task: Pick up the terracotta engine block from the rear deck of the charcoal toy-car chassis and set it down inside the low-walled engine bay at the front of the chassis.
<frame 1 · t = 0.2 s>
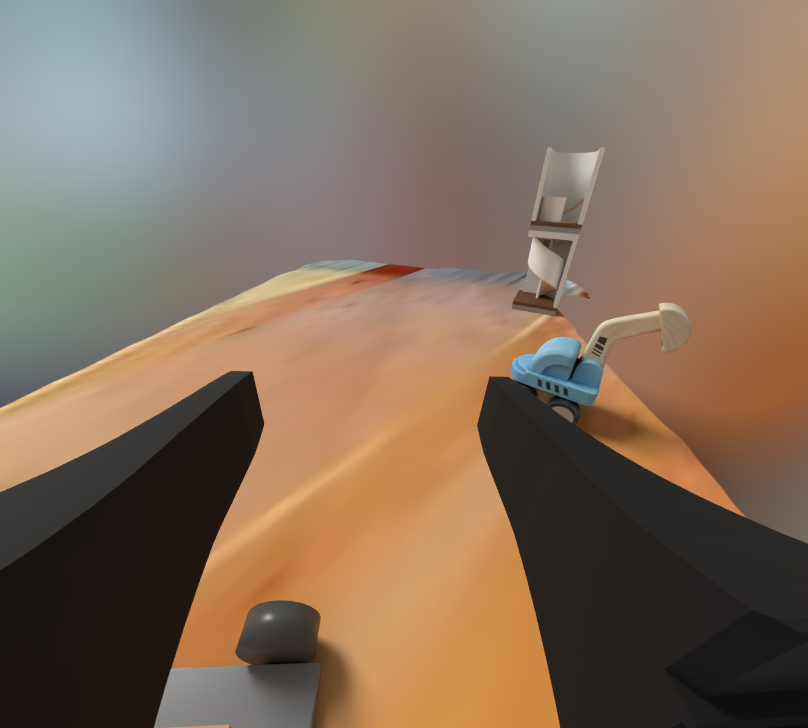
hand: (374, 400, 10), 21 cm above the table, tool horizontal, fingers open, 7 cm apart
toy excavator: (562, 414, 44), on the table
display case: (534, 306, 84), on the table
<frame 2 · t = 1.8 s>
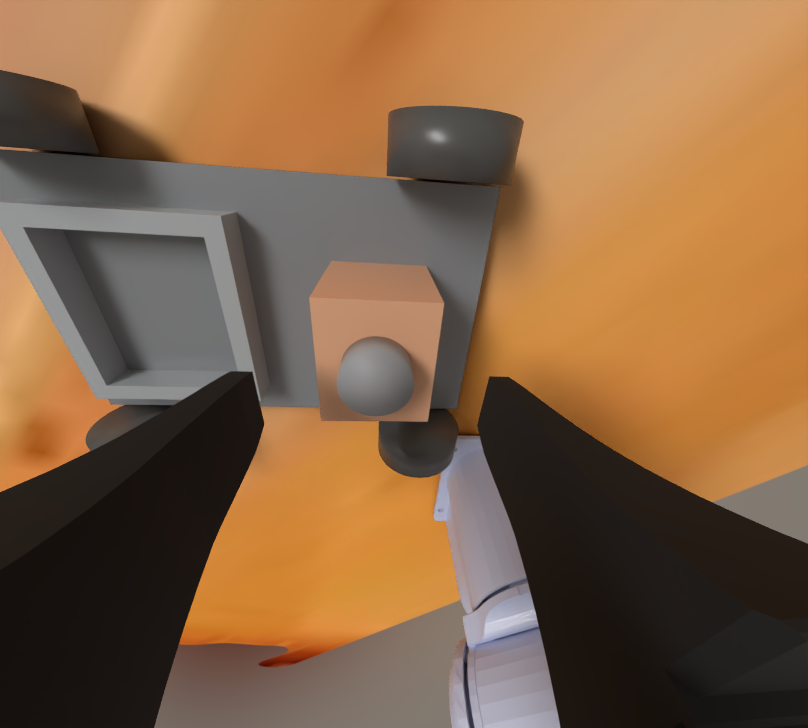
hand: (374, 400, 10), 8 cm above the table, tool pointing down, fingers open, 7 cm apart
engine block: (378, 315, 16), point 1 cm above the table, touching chassis
chassis: (282, 304, 16), on the table
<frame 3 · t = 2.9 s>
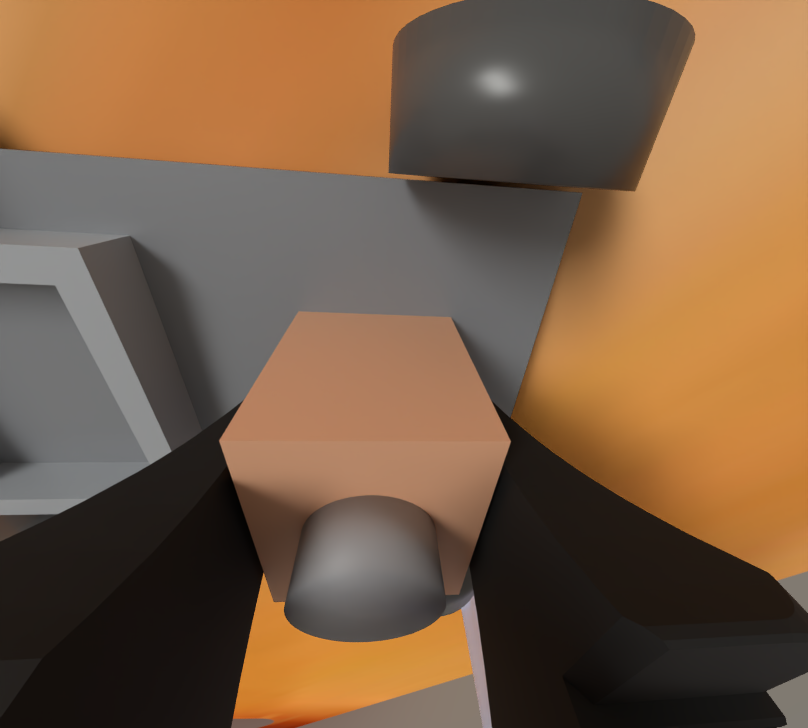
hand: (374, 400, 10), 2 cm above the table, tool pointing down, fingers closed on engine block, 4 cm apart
engine block: (374, 387, 10), point 1 cm above the table, touching chassis, gripper
chassis: (230, 367, 11), on the table
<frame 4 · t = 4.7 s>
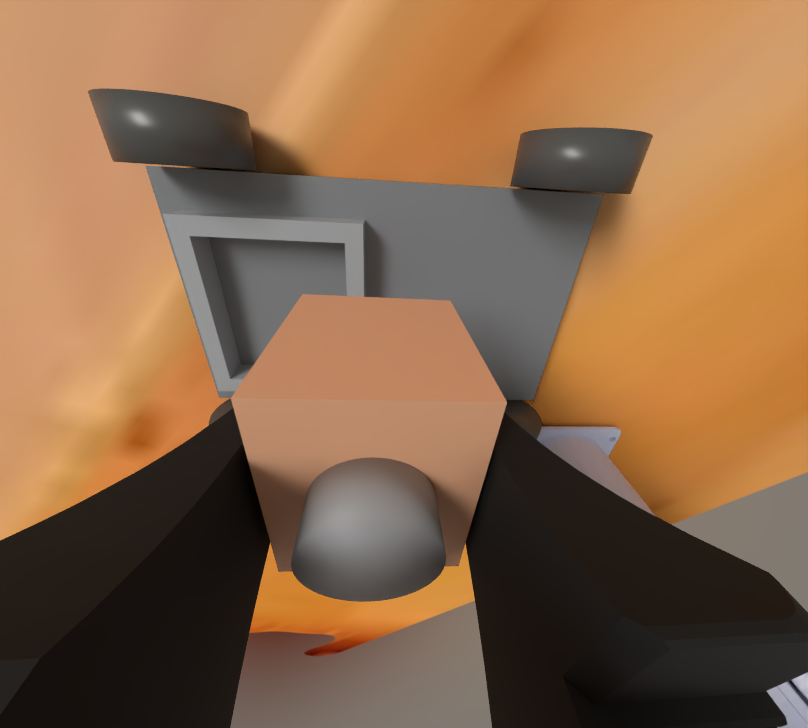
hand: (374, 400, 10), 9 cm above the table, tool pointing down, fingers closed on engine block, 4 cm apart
engine block: (376, 370, 11), point 8 cm above the table, touching gripper
chassis: (384, 303, 17), on the table
when the fingers open (3 cm above the table, at t = 6.5 s): engine block drops 1 cm, resting on chassis.
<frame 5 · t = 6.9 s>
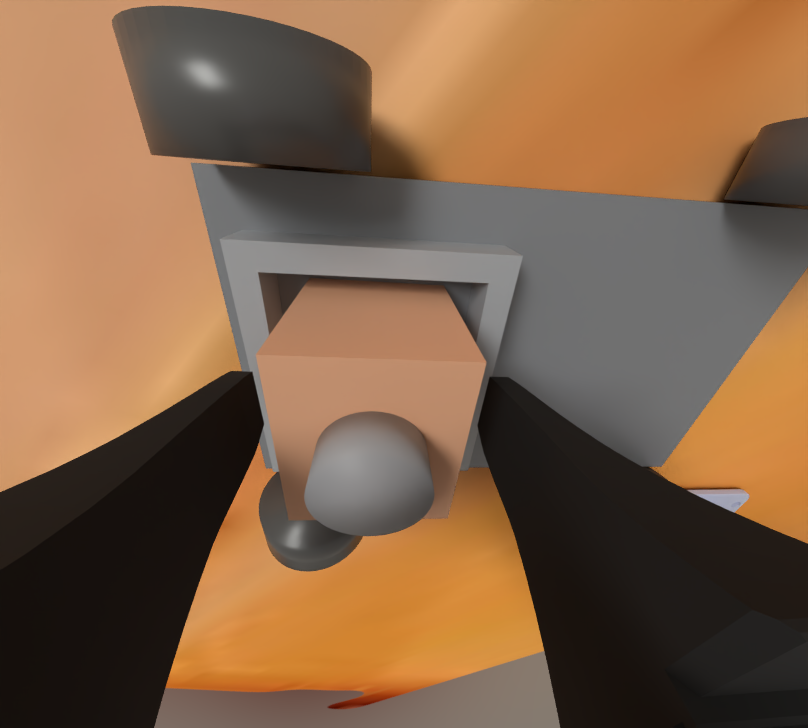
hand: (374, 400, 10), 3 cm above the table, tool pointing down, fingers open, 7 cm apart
engine block: (375, 350, 12), point 1 cm above the table, touching chassis
chassis: (495, 351, 13), on the table
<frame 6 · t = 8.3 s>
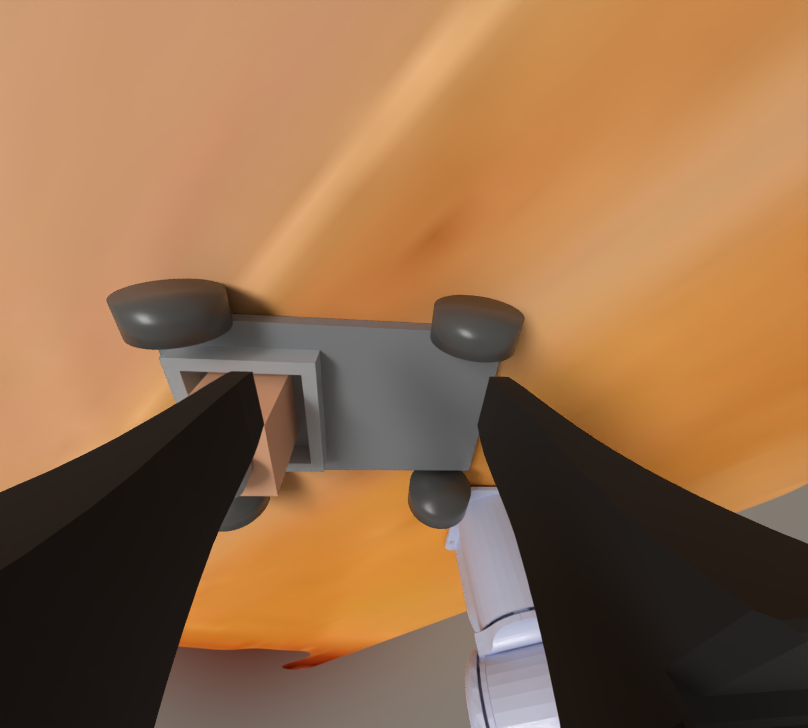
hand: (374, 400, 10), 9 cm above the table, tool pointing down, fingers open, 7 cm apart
engine block: (259, 401, 20), point 1 cm above the table, touching chassis
chassis: (340, 399, 21), on the table
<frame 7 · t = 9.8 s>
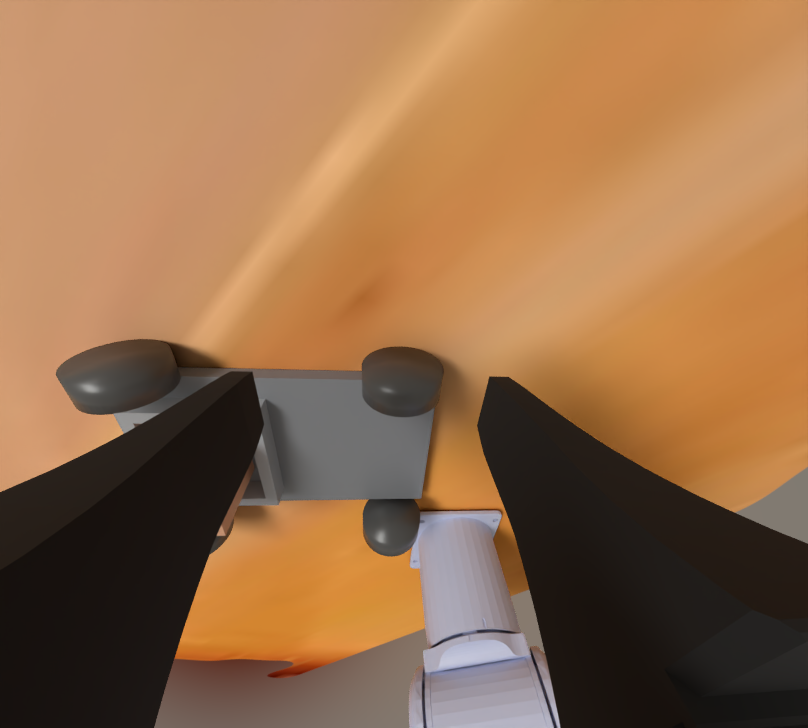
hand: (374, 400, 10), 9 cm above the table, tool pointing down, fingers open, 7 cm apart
engine block: (215, 443, 21), point 1 cm above the table, touching chassis
chassis: (293, 437, 23), on the table
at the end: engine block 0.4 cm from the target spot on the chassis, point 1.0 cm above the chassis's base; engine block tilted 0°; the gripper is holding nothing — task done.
